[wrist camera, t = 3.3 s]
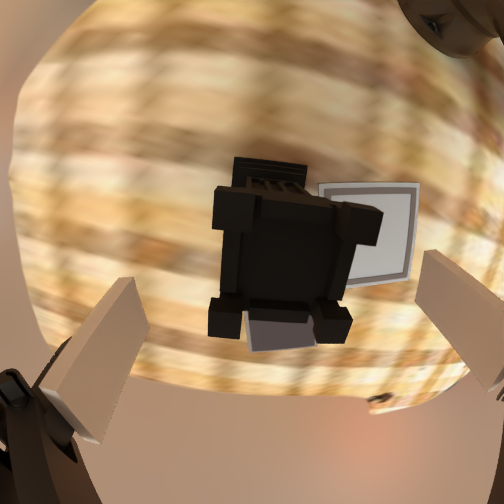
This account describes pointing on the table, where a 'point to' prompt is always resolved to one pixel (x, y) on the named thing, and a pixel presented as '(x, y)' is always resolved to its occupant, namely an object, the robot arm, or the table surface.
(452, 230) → the table surface
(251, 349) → the ink pad
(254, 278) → the chess piece
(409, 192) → the print sheet
